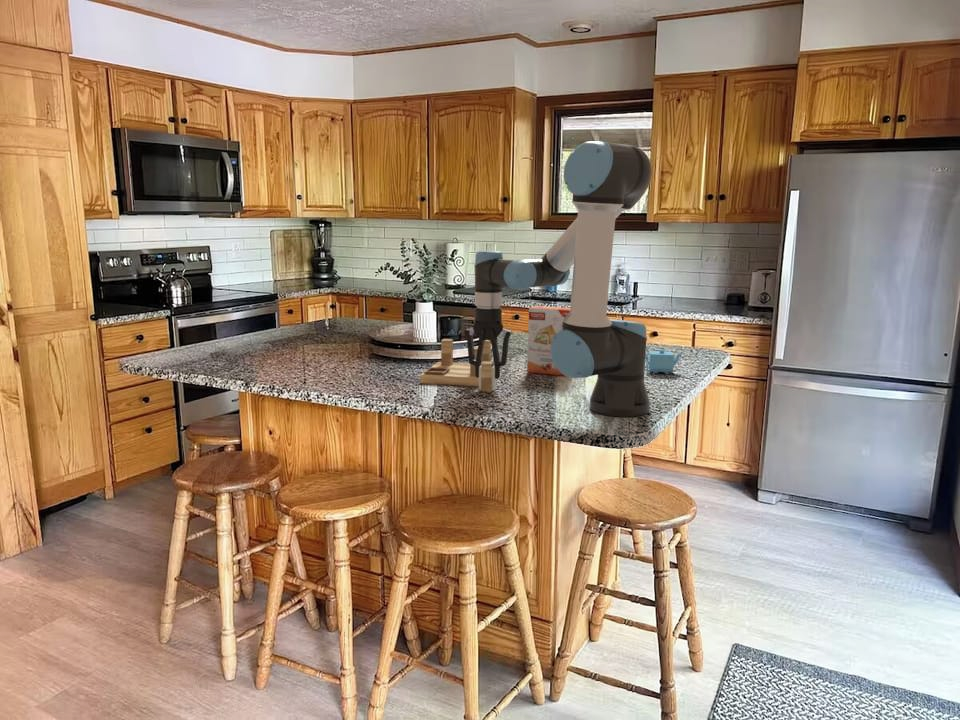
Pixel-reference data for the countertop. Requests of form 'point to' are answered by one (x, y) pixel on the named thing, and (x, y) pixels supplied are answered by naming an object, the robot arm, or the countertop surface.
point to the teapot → (661, 361)
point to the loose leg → (486, 376)
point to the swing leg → (487, 351)
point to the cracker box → (543, 337)
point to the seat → (450, 369)
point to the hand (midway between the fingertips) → (487, 388)
